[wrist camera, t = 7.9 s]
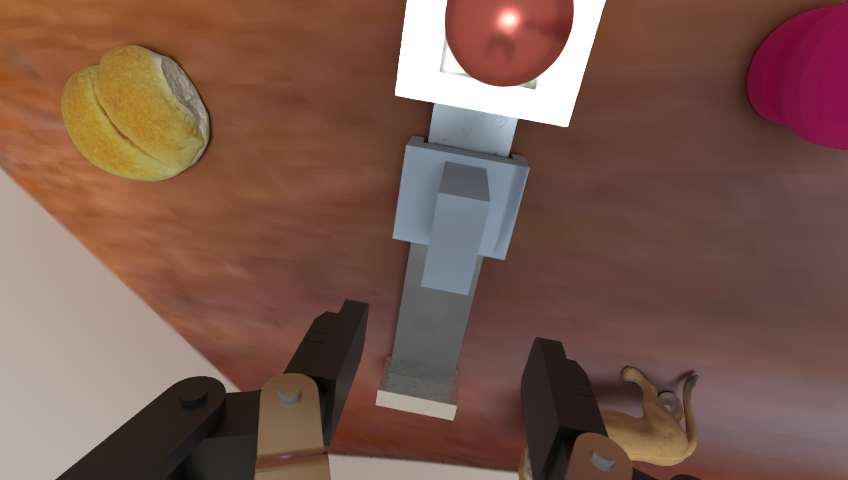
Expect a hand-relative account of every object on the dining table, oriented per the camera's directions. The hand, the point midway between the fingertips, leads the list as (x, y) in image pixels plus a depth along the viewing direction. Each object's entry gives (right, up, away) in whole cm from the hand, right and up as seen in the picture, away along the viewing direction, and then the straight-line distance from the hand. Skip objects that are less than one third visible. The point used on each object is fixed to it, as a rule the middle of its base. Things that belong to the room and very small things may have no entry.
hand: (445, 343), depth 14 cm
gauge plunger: (+3, +12, +5) cm, 14 cm away
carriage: (+2, +7, +16) cm, 17 cm away
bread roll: (-19, +12, +16) cm, 28 cm away
